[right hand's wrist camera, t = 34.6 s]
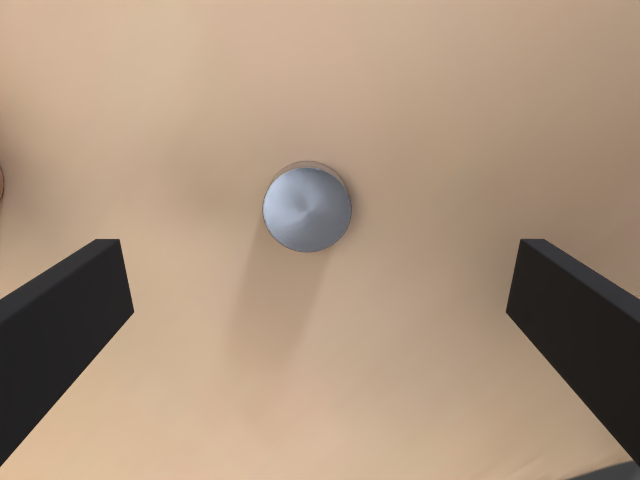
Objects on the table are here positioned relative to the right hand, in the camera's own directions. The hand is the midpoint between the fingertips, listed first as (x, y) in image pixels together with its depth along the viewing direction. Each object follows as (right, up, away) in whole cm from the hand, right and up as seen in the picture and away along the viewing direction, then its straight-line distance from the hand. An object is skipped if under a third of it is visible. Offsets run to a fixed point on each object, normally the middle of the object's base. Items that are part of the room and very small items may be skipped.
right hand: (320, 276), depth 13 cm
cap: (-1, +3, +6) cm, 7 cm away
